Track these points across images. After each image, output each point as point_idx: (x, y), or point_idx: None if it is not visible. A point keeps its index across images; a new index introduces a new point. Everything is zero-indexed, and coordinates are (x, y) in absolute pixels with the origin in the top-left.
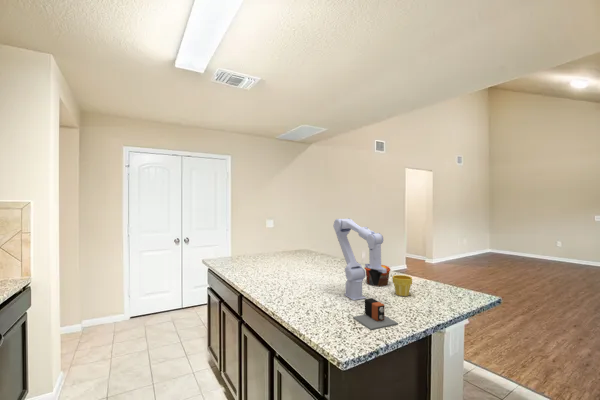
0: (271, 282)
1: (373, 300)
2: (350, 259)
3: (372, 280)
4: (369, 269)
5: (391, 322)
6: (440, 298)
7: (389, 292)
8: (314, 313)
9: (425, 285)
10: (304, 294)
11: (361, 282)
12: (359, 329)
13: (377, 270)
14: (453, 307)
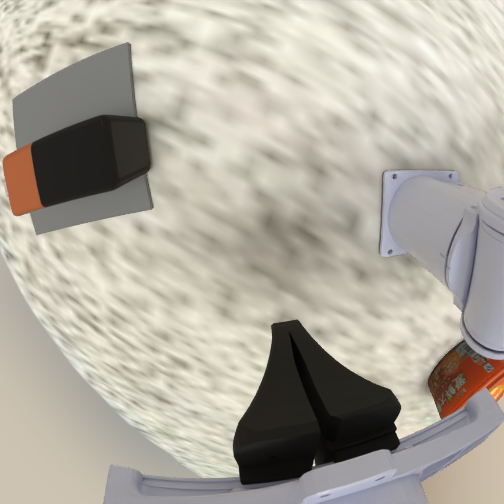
0: None
1: (63, 173)
2: None
3: (306, 343)
4: (497, 376)
5: (40, 210)
6: None
7: (379, 374)
8: None
9: None
10: (485, 23)
11: (443, 277)
12: (32, 56)
13: (248, 483)
14: (185, 443)
